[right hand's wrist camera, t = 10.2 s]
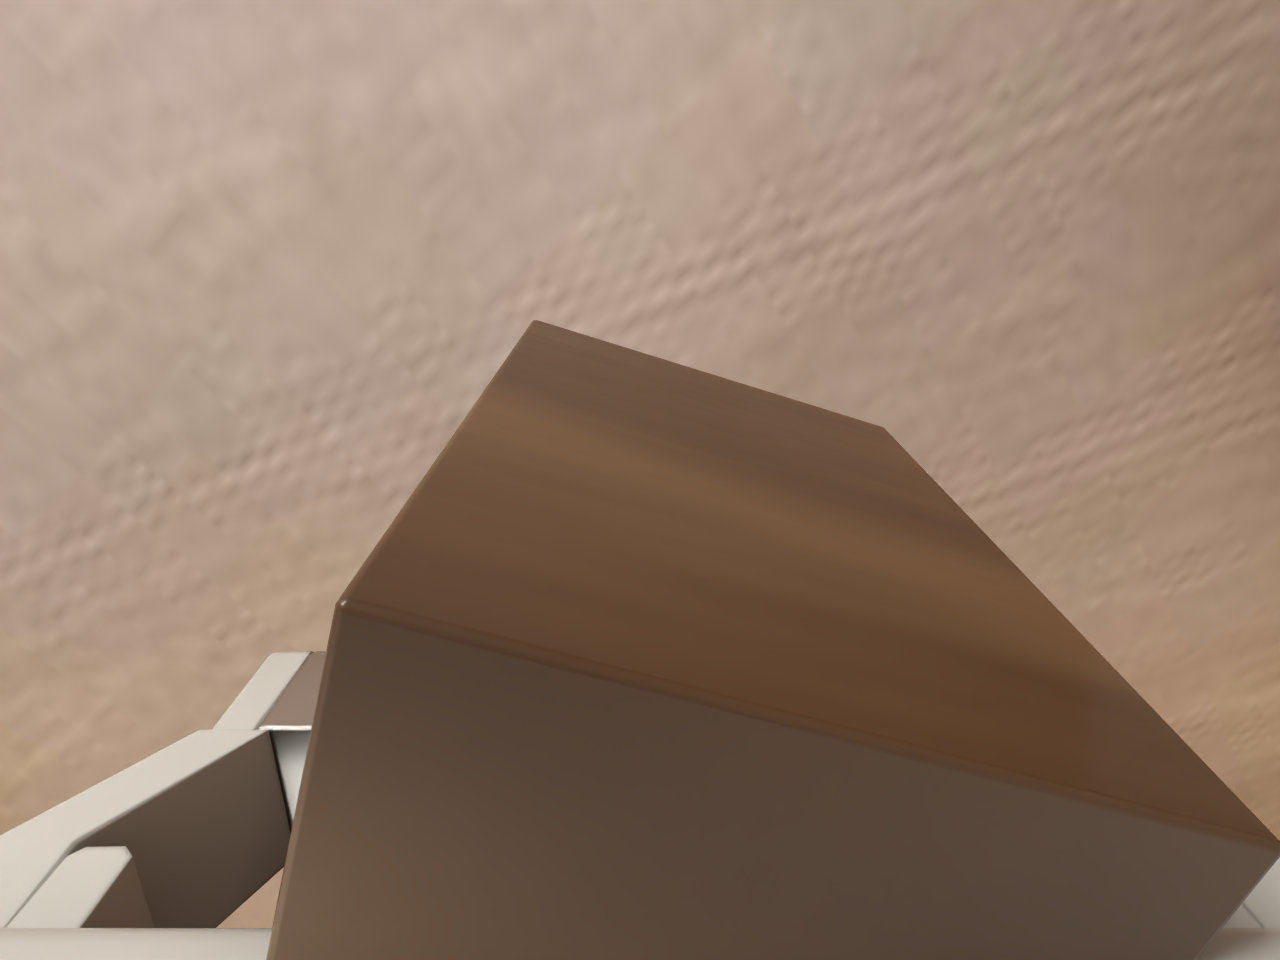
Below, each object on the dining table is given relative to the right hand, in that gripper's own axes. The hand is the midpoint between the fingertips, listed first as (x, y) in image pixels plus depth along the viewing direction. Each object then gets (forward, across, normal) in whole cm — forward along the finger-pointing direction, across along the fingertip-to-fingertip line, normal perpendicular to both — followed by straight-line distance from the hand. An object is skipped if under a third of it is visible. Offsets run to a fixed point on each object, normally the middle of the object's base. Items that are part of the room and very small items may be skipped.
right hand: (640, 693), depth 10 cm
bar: (+3, -2, -8) cm, 8 cm away
